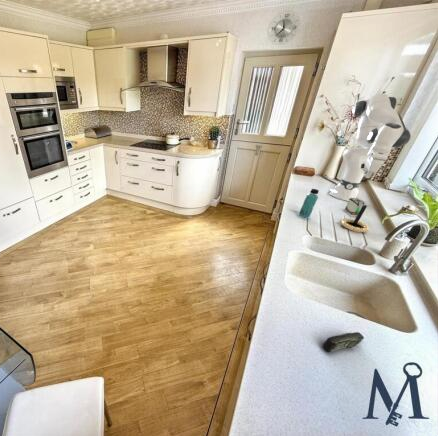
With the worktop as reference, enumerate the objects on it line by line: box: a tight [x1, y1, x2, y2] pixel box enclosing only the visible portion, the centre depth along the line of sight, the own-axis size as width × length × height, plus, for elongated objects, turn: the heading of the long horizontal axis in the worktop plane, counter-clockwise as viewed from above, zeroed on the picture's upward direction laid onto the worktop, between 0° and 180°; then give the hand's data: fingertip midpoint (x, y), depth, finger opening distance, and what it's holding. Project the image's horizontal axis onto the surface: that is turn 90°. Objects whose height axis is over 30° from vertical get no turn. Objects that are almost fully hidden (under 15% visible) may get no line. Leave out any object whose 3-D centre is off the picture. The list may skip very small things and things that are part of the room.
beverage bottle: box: [298, 188, 319, 219], centre depth 150 cm, size 6×7×20 cm
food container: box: [344, 197, 366, 217], centre depth 159 cm, size 12×6×10 cm, turn 168°
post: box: [342, 204, 368, 234], centre depth 143 cm, size 10×10×15 cm
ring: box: [340, 218, 370, 233], centre depth 144 cm, size 14×14×2 cm
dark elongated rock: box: [322, 331, 365, 353], centre depth 77 cm, size 5×3×15 cm
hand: (366, 175), depth 144 cm, fingers open, 8 cm apart
